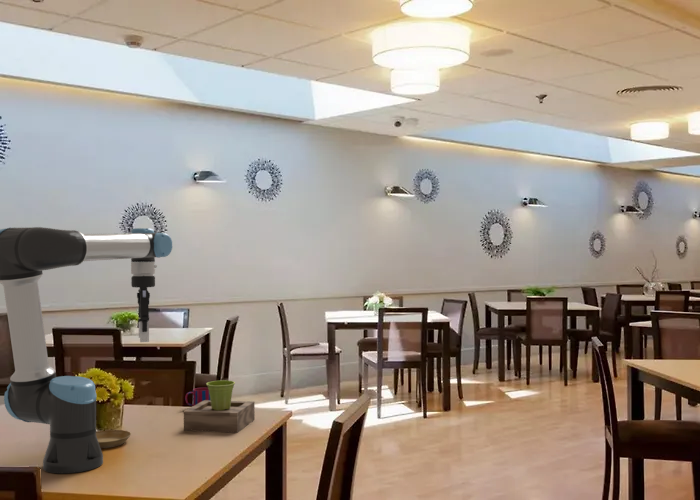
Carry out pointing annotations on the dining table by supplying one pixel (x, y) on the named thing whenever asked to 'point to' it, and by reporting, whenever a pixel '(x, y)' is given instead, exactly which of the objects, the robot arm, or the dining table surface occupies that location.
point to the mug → (199, 395)
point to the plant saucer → (112, 438)
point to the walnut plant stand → (219, 417)
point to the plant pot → (220, 394)
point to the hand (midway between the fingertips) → (143, 339)
